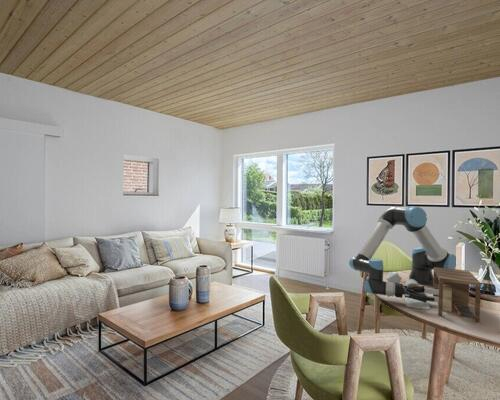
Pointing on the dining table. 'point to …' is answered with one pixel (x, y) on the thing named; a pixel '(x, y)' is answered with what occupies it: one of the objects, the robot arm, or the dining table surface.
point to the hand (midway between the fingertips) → (440, 296)
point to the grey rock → (393, 277)
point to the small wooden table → (457, 290)
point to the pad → (416, 304)
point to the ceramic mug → (412, 284)
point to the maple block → (447, 297)
